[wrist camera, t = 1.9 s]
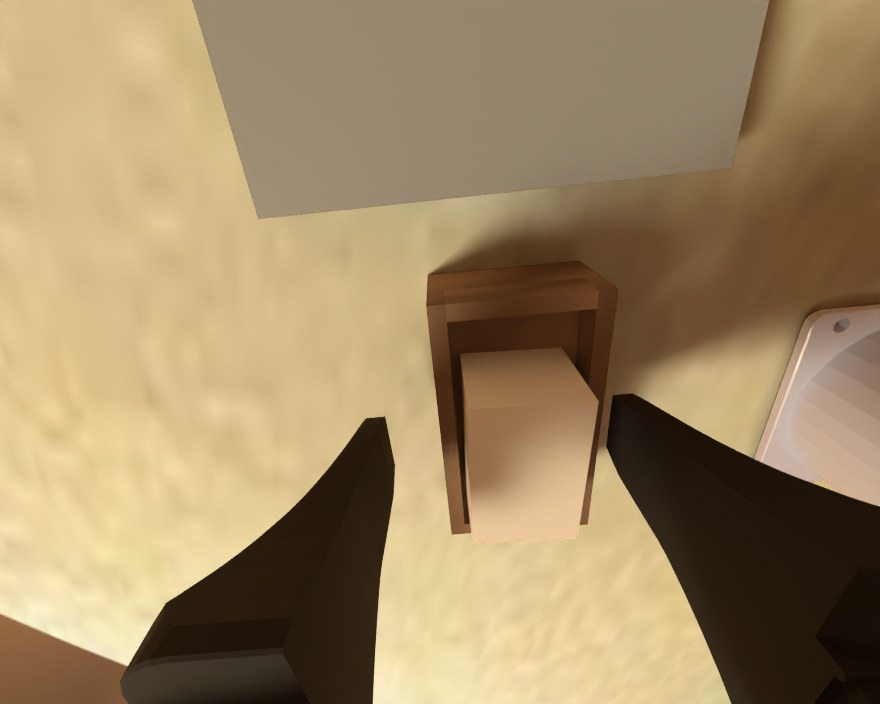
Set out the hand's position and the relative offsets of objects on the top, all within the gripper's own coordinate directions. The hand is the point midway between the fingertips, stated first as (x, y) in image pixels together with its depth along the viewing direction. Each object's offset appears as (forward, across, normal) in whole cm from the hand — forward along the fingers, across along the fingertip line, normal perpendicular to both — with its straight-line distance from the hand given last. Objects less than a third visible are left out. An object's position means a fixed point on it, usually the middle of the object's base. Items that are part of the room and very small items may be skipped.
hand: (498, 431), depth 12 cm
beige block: (+1, 0, 0) cm, 1 cm away
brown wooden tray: (+3, -1, 0) cm, 3 cm away
